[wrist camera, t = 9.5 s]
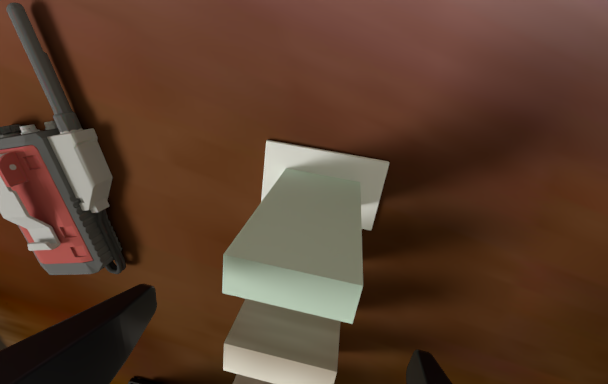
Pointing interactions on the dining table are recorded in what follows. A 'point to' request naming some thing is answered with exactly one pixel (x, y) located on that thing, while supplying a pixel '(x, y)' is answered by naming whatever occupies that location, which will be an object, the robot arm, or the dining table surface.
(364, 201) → the end pad
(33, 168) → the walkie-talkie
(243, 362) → the domino
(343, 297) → the green domino
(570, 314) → the dining table surface
